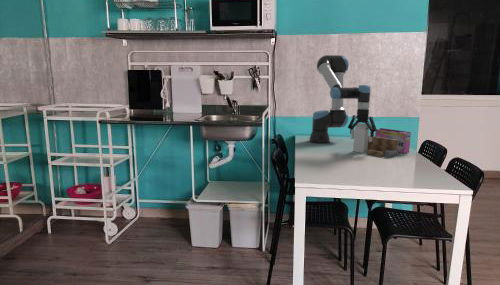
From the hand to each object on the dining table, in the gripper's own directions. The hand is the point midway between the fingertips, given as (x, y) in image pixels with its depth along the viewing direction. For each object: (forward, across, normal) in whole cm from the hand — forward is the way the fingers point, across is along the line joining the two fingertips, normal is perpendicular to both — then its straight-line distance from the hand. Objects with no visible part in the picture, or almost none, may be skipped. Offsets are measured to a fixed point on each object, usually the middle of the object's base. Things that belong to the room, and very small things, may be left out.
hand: (361, 140), depth 263 cm
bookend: (+8, +20, +2) cm, 22 cm away
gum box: (+8, +11, +22) cm, 26 cm away
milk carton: (+8, 0, 0) cm, 8 cm away
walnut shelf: (+8, +10, +2) cm, 13 cm away
